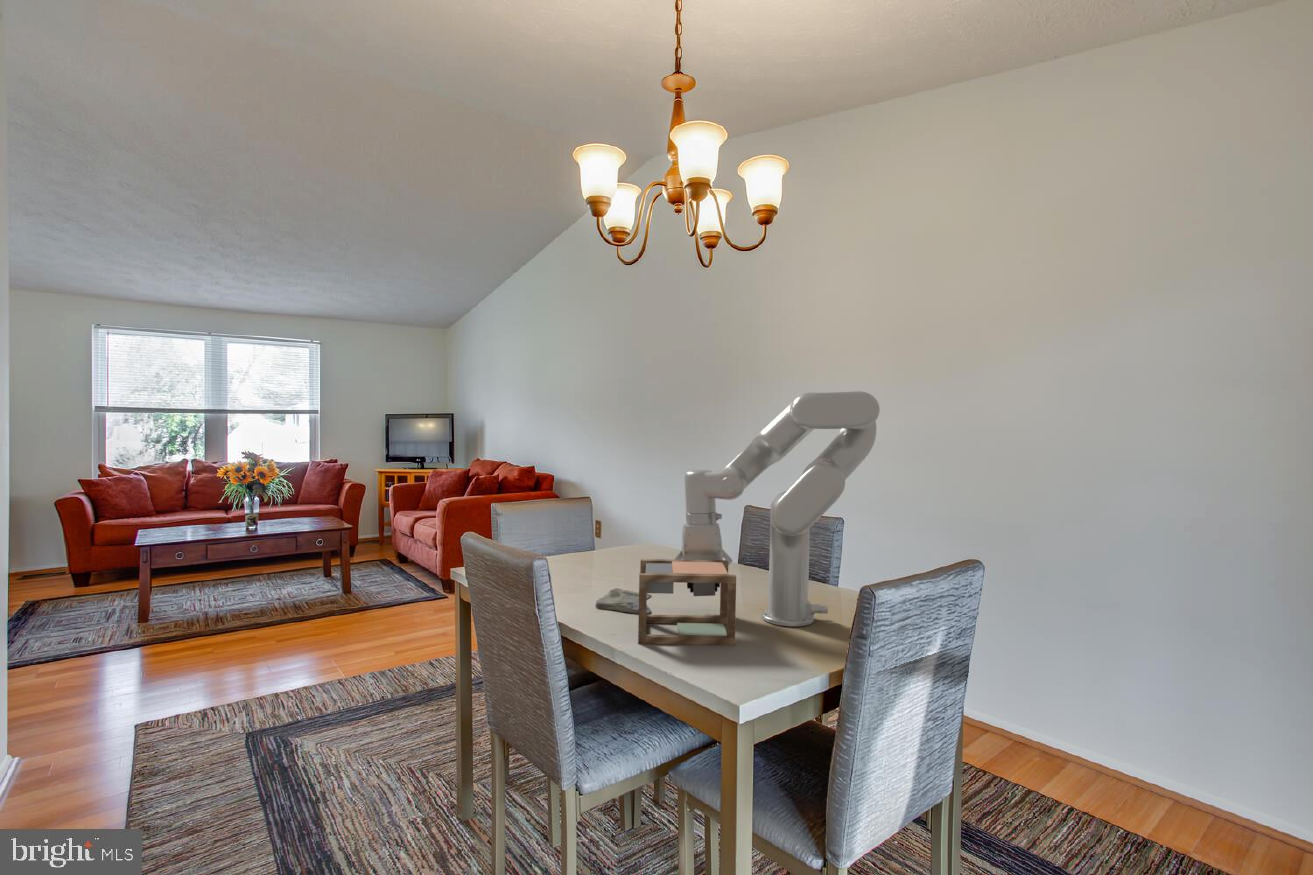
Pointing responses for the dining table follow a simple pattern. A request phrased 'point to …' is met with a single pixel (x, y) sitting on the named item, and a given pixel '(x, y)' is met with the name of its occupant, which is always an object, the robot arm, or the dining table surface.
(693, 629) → the mat
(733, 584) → the stand
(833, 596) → the dining table surface
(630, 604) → the fossil rock
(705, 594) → the grey block
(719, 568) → the trapdoor
